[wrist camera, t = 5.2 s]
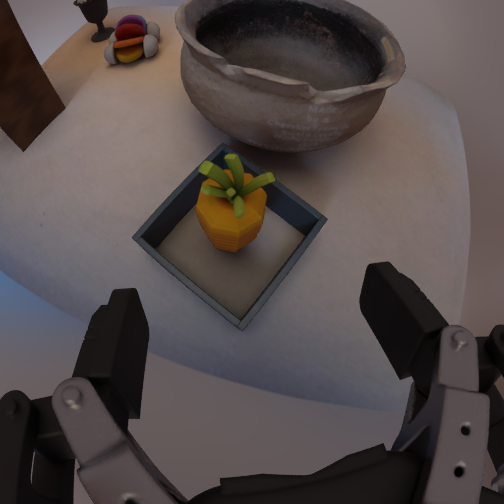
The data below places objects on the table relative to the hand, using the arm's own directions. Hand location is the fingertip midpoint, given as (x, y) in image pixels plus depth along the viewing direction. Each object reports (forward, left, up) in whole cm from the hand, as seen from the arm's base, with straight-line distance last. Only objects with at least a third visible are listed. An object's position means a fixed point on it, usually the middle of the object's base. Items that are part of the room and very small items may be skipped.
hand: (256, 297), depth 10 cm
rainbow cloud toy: (+20, +38, -19) cm, 47 cm away
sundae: (+21, +50, -19) cm, 57 cm away
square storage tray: (+5, +5, -19) cm, 20 cm away
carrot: (+5, +5, -19) cm, 20 cm away
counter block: (+1, +42, -19) cm, 46 cm away
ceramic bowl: (+22, +12, -19) cm, 31 cm away
